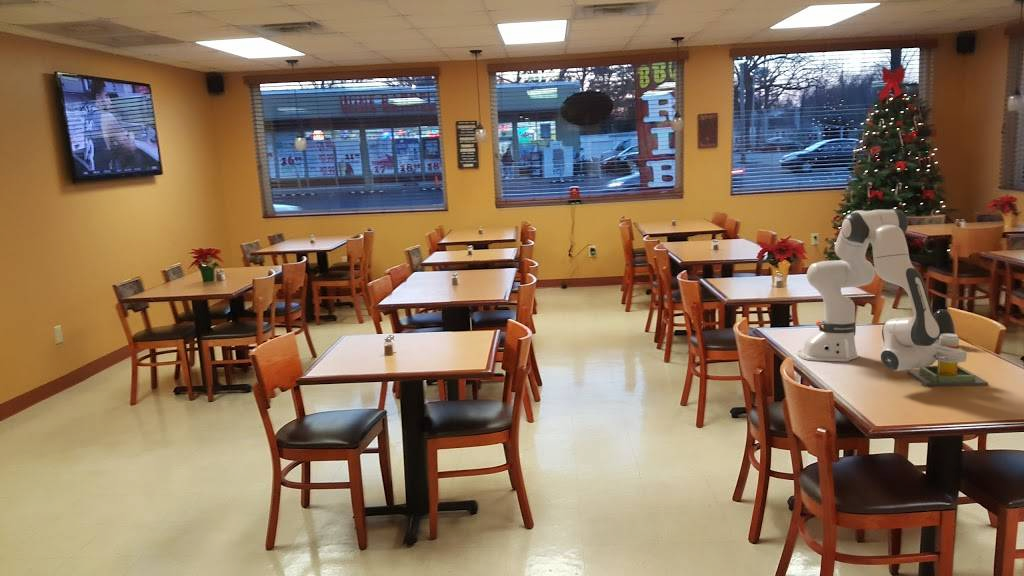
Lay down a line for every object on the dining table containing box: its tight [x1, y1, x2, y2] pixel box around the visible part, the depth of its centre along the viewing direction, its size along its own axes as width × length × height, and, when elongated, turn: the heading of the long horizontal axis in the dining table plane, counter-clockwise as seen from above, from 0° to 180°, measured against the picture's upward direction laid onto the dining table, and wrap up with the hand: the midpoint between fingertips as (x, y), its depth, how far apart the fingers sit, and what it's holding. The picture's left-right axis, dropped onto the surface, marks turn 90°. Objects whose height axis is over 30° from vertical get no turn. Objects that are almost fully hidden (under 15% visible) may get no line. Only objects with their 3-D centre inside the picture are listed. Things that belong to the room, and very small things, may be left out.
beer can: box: [937, 333, 960, 375], centre depth 259 cm, size 6×6×15 cm
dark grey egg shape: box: [933, 308, 956, 344], centre depth 304 cm, size 10×10×15 cm
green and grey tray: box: [907, 365, 989, 387], centre depth 261 cm, size 20×16×3 cm
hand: (950, 348), depth 259 cm, fingers closed on beer can, 6 cm apart
